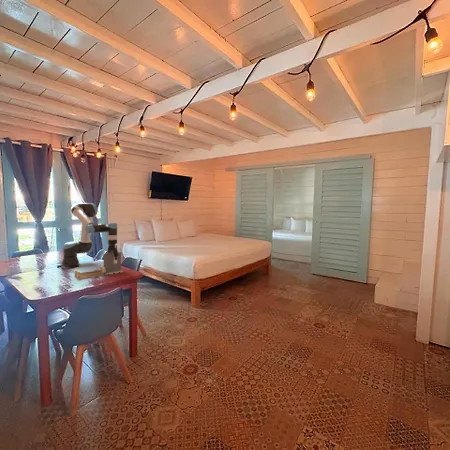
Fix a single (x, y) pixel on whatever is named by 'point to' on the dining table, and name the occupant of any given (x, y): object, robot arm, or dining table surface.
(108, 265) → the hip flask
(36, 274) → the dining table surface
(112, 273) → the mat
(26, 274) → the dining table surface
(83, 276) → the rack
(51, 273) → the dining table surface
